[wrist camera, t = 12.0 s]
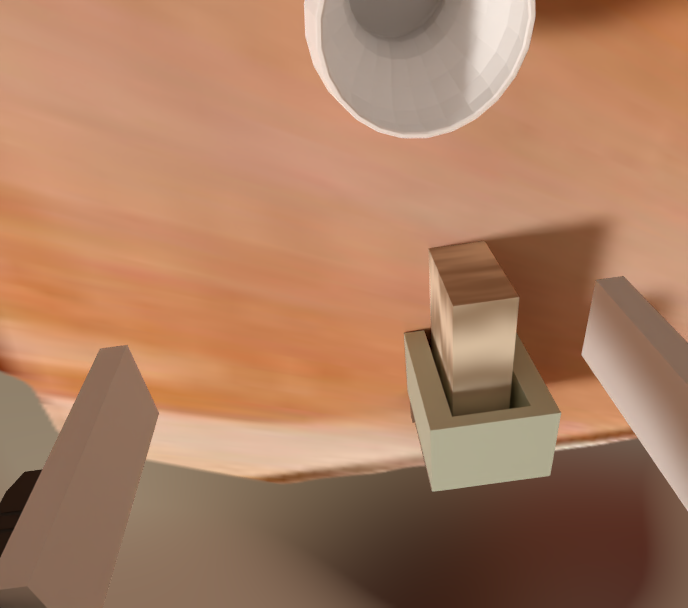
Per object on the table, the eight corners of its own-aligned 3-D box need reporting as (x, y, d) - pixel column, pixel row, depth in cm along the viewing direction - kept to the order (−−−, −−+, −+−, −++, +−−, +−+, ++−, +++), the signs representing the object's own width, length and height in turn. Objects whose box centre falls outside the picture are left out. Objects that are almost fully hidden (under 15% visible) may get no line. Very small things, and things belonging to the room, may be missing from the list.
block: (404, 333, 52) (430, 430, 41) (508, 318, 52) (561, 412, 41) (407, 390, 56) (432, 491, 46) (504, 377, 56) (549, 475, 46)
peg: (428, 248, 47) (453, 306, 39) (484, 240, 47) (519, 297, 39) (431, 364, 55) (452, 431, 47) (479, 358, 55) (507, 423, 47)
